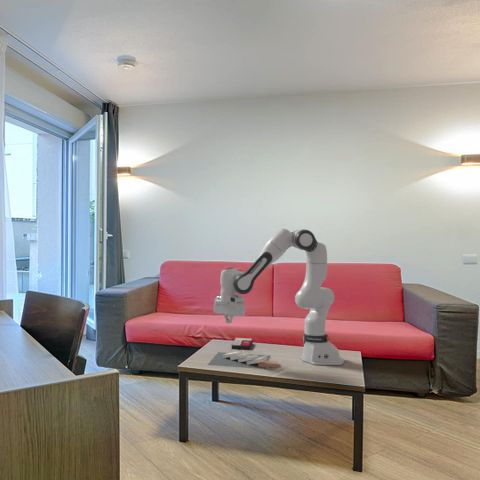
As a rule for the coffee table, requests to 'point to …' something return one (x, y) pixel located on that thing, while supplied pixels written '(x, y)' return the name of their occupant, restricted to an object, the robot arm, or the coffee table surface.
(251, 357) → the domino
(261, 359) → the domino
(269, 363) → the domino
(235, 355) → the domino
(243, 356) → the domino
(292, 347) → the coffee table surface
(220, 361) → the domino mat
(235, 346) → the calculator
